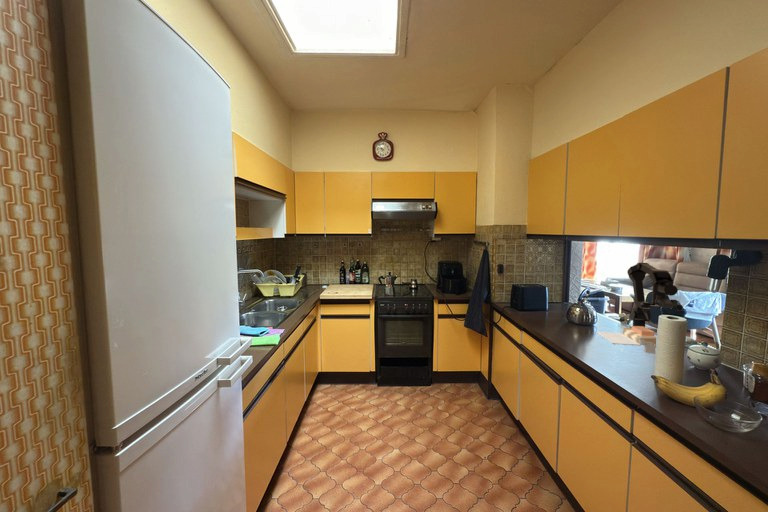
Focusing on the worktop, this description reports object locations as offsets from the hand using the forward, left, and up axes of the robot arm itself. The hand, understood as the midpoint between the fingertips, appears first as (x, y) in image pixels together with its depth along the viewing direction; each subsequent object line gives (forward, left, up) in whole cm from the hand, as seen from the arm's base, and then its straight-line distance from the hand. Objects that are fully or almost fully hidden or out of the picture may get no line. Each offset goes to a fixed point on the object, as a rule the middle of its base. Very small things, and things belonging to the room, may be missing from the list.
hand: (658, 320), depth 165 cm
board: (-2, -7, -12) cm, 14 cm away
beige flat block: (+16, -15, -12) cm, 25 cm away
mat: (-2, -19, -12) cm, 22 cm away
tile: (-2, -6, -8) cm, 10 cm away
